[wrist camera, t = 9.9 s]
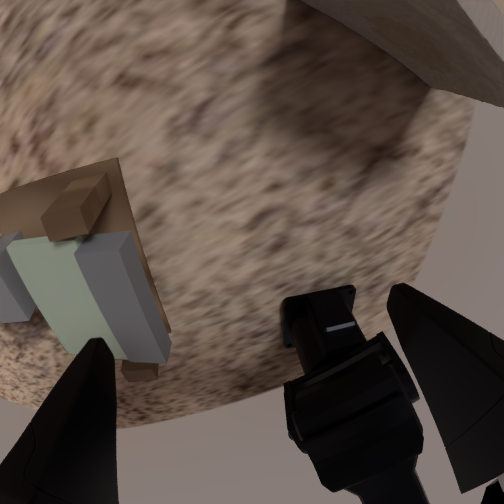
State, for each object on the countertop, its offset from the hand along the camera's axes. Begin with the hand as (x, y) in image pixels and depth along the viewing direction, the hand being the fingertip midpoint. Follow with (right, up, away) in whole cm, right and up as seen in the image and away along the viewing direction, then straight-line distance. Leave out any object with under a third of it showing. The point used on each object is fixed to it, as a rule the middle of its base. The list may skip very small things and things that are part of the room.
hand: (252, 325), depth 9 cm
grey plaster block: (+8, +17, +5) cm, 19 cm away
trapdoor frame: (-12, +1, +12) cm, 17 cm away
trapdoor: (-10, -1, +9) cm, 14 cm away
